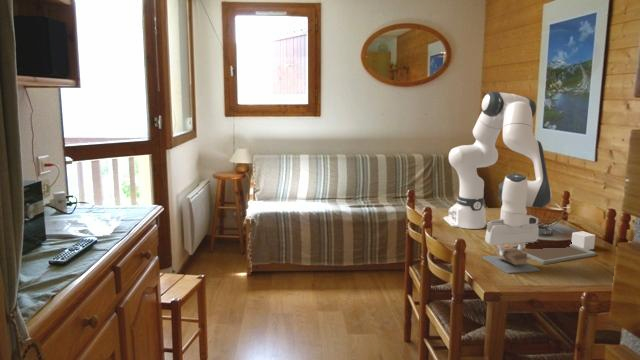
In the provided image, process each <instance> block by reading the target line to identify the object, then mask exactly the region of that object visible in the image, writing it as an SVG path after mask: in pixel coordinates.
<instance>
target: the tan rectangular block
mask: <svg viewBox="0 0 640 360" xmlns="http://www.w3.org/2000/svg"><path fill="white" fill-rule="evenodd" d="M511 246H512V245H510V244H504V247H502V248H503V250H505V251H506V253H505V254H506V255H500V254H499V252H500V250H499V248H498V246H497V245H494V256H497V257H499V258H502V259H504V260H506V261H508V262H510V263H512V264H514V265H518V264H524V263H526V262H527V261H528V260H527V259H528V258H527V254H526V253H524V252H522V251H519V250H517V249H515V248H512V247H511Z"/></svg>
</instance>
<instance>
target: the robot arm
mask: <svg viewBox="0 0 640 360" xmlns="http://www.w3.org/2000/svg"><path fill="white" fill-rule="evenodd" d="M481 101H482V102H481V105H480V106H481V112H480V114H479V117H478V118H477V120H476V123H475V124H474V126H473V129H472V135H473V137H474V139H475V142H474V143H473V144H467V145H466V144H465V145H464V144H461V145H459V146H458V145H457V146H455V147H453V148H452V149H450V151H449V153H448V163H449V164H450V166H451V167H452V168H454V170H455V171H456V174H457V176H458V180H459V191H458V192H459V193H458V194H459V195H457V196H456V203H455V204H453V205H452V206H451V207H449V209H448V211H447V212H448V215H446V216H444V217H443V220H444V221H445V222H447V223H448V225H449V226H450V227H454V228H461V229H468V230H469V229H470V230H473V229H474V230H477V229H478V230H480V229H483V228H485V227H486V232H485V238H484V241H485V242H486V243H487V245H490V246H498V248H499V250H500V252H499V254H500V255H506V254H505V253H506V251H505V250H503V248H502V247H504V245H512V244H517V245H519V246H518V248H516V249H517V250H519V251H522V249H523V247H524V246H525V244H526V243H534V242H538V239H539V233H540V232H539V231H540V230H539V225H538V224H539V217H536V216H533V215H531V214H528V213H527V212H528V211H527V207H532V208H538V209H542V208H544V207H546V206H548V205H549V204H550V203H551V201H552V189H551V185H550V181H549V176H548V170H547V165H546V157H545V153H544V152H545V151H544V148H543V145H542V143H541V141H540V140H537V138H536V137H535V135H534V129H533V128H534V123H533V122H534V121H533V118H534V117H535V115H536V112H537V104H536V102H535V100H533V99H532V98H529V97H527V96H526V97H525V96H522V95H519V94H515V93H508V92H499V91H495V90H493V91H488V92H487V93H486V94H484V96H483V98H482V100H481ZM501 131H502V141H503V144H504V145H505V146H506V147H507V148H509V149H510V150H511V151H513V152H515V153H518V154H521V155H524V156H525V157H527V158H529V159H530V160H531V162H532V164H533V169H534V174H535V175H534V176H535V180H528V178H527V176H526V175H523V174H520V173H509V174H507V175H505V176H504V180H503V181H501V182H500V183H499V184H498V197H497V199H498V200H499V201H500V203H502V205H501V207H500V218H498V219H491V220H490V221H489V222H488V221H487V217H486V207H485V206H484V205H485V197H484V195H485V193H484V191H485V190H484V188H485V181H484V179H483V178H482V177H480V176H479V174H478V172H477V171H478V169H477V168H479V169H480V168H488V167H490V166H493V165H495V164H496V163H497V161H498V159H499V153H498V149H497V147H496V142H497V140H498V137H499V135H500V133H501Z"/></svg>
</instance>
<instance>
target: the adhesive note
mask: <svg viewBox="0 0 640 360" xmlns="http://www.w3.org/2000/svg"><path fill="white" fill-rule="evenodd" d="M571 242H572V244H573V245H575V246H578V247H581V248H584V249H587V250H590V251H591V250H595V242H596V234H594V233H590V232H586V231H583V230H582V231H581V230H580V231H574V232H572V233H571ZM571 242H570V243H571Z"/></svg>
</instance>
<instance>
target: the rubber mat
mask: <svg viewBox="0 0 640 360" xmlns="http://www.w3.org/2000/svg"><path fill="white" fill-rule="evenodd" d="M481 259H483V261H486V262H487V263H489V264H491V265H493V266H495V268H498V269H499V270H501V271H502V272H503V273H506V274H508V275H511V274H521V273H531V272H539V271H541V269H540V268H538V267H536V266H534V265H532V264H531V263H529V262H527V261H526V263H524V264H518V265H514V264H512V263H510V262H508V261H506V260H504V259H502V258H499V257H497V256H495V255H488V256H487V255H486V256H485V255H484V256H481Z"/></svg>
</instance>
